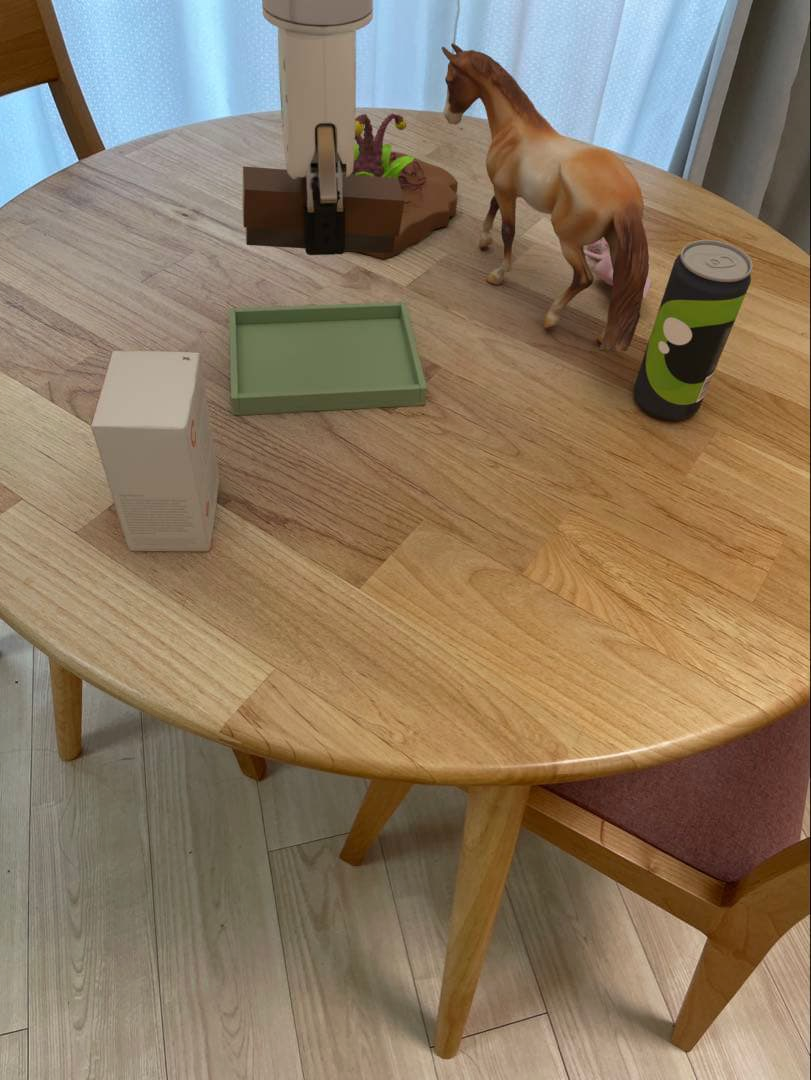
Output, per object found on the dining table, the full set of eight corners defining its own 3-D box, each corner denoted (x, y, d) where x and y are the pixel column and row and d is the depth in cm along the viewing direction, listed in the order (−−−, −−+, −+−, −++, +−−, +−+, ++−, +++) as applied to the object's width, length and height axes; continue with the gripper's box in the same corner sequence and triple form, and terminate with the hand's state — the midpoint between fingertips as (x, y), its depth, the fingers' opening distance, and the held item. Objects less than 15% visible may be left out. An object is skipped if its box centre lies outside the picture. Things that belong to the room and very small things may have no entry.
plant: (243, 219, 98) (234, 117, 90) (335, 151, 110) (335, 56, 101) (398, 275, 93) (404, 172, 84) (478, 197, 104) (491, 101, 96)
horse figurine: (422, 239, 98) (437, 40, 82) (479, 223, 101) (504, 27, 85) (602, 402, 81) (664, 191, 66) (664, 377, 84) (737, 169, 68)
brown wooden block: (243, 245, 70) (244, 189, 67) (242, 222, 73) (242, 165, 69) (396, 254, 73) (404, 200, 69) (390, 231, 75) (398, 177, 72)
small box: (142, 477, 72) (111, 348, 62) (221, 478, 72) (201, 349, 62) (126, 553, 67) (88, 425, 57) (210, 554, 67) (187, 427, 57)
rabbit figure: (567, 254, 100) (603, 314, 88) (576, 201, 96) (614, 256, 85) (620, 254, 100) (663, 313, 89) (631, 201, 97) (677, 256, 85)
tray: (233, 415, 77) (231, 398, 76) (230, 325, 86) (228, 308, 84) (425, 405, 80) (427, 388, 78) (404, 318, 88) (405, 301, 86)
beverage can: (678, 376, 84) (730, 234, 73) (710, 418, 81) (771, 275, 69) (619, 385, 83) (664, 242, 71) (650, 429, 79) (701, 285, 68)
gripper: (256, -52, 64) (272, 188, 78) (266, 39, 53) (283, 298, 67) (359, -51, 65) (357, 186, 79) (389, 39, 54) (380, 294, 68)
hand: (322, 236), depth 73 cm, fingers closed on brown wooden block, 3 cm apart
